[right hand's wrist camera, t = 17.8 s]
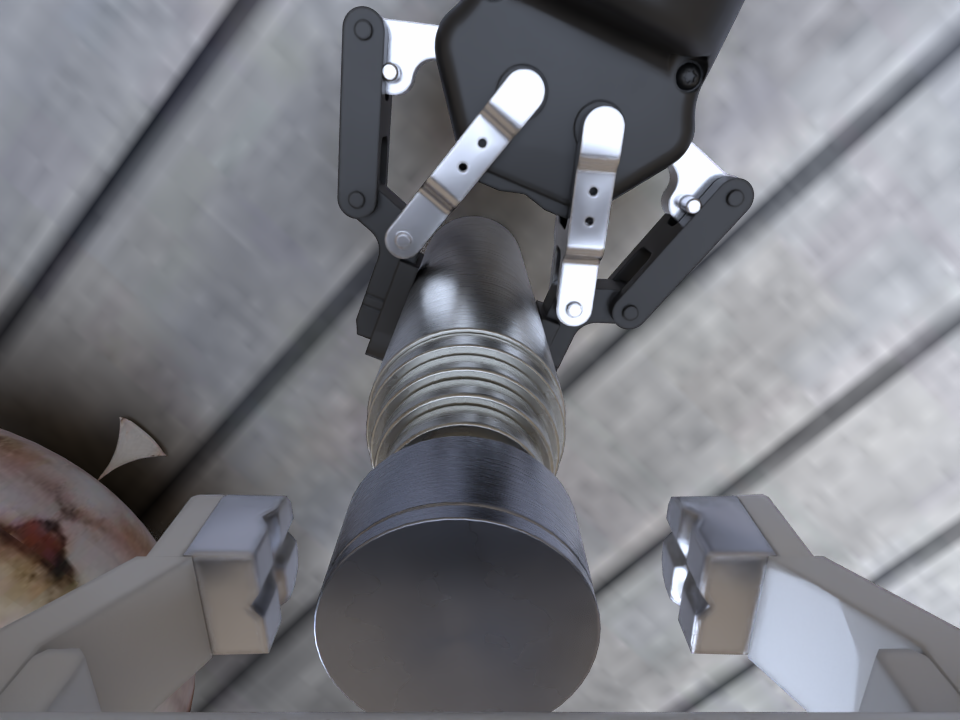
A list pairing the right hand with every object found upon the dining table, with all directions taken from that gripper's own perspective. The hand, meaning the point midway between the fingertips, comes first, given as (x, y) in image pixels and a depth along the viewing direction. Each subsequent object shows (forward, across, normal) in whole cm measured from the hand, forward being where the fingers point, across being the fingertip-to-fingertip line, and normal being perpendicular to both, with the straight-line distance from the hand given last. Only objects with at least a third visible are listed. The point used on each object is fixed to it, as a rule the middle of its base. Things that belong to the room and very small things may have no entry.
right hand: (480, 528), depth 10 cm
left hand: (+13, -1, -2) cm, 13 cm away
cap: (-2, 0, 0) cm, 2 cm away
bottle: (+19, 0, 0) cm, 19 cm away
